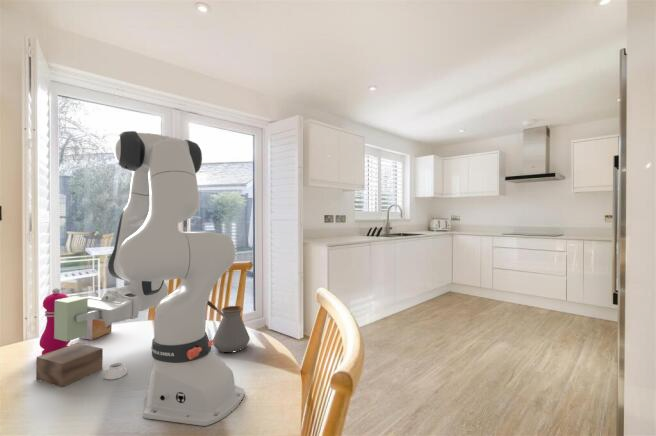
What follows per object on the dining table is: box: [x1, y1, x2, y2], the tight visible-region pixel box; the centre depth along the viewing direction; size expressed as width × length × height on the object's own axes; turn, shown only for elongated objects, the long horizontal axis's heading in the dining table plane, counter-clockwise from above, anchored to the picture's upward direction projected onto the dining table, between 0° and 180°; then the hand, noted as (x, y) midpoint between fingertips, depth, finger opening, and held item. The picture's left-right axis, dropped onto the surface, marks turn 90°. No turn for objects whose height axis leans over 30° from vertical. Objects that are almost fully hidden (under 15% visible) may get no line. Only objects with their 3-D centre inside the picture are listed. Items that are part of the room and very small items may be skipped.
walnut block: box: [35, 342, 104, 388], centre depth 87 cm, size 10×10×6 cm
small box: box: [78, 319, 113, 340], centre depth 114 cm, size 8×6×10 cm
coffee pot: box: [207, 300, 251, 353], centre depth 108 cm, size 21×12×15 cm, turn 60°
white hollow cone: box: [103, 362, 128, 381], centre depth 87 cm, size 5×3×5 cm
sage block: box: [54, 295, 88, 342], centre depth 87 cm, size 5×5×10 cm
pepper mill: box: [39, 287, 71, 355], centre depth 98 cm, size 7×7×20 cm
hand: (67, 316), depth 86 cm, fingers closed on sage block, 5 cm apart
